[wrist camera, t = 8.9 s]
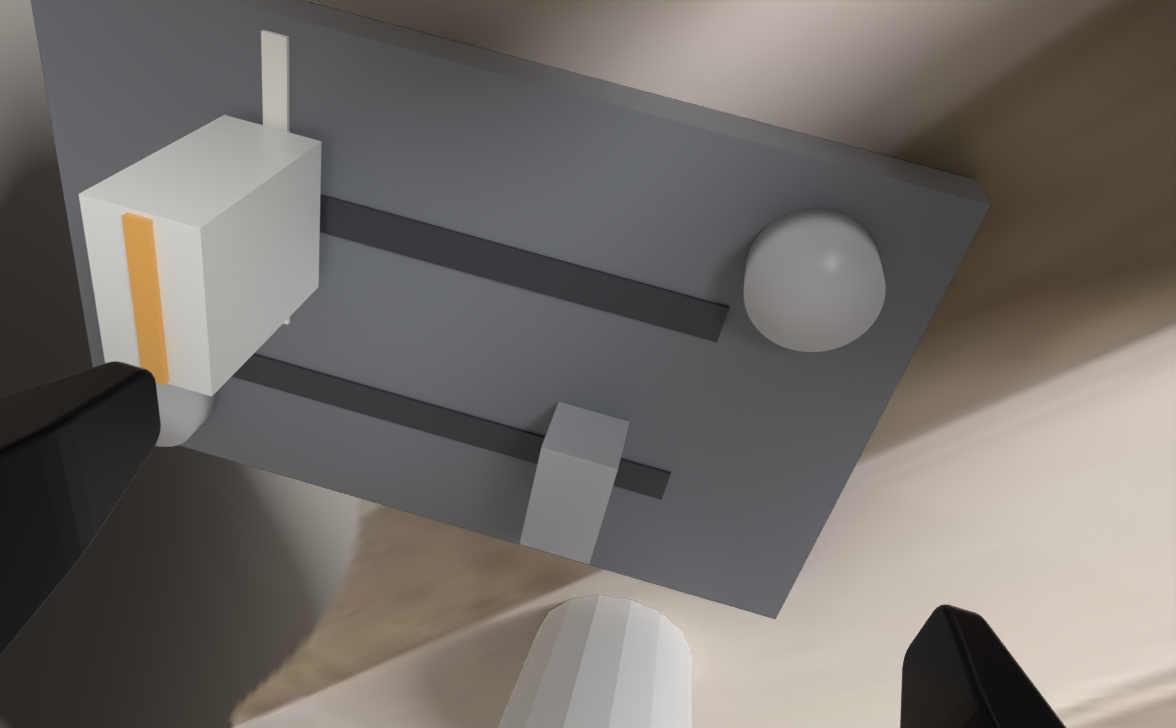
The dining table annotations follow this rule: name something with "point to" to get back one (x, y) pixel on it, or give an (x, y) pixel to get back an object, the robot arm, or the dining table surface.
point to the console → (534, 286)
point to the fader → (204, 250)
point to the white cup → (603, 670)
